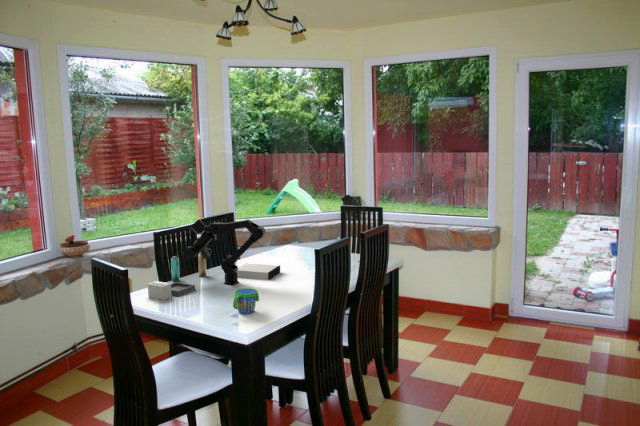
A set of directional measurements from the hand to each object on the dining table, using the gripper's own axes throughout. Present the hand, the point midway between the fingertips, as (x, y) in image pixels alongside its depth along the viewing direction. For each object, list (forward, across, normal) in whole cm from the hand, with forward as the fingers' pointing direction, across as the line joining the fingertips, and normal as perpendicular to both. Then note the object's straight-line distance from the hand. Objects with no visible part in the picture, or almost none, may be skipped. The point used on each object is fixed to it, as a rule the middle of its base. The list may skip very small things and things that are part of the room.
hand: (185, 259), depth 289 cm
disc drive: (-16, +19, -36) cm, 44 cm away
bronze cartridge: (+6, +14, -13) cm, 20 cm away
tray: (+8, -18, -10) cm, 23 cm away
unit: (+12, -29, -6) cm, 32 cm away
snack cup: (-22, -48, -42) cm, 67 cm away
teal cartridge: (+14, +3, -4) cm, 15 cm away
